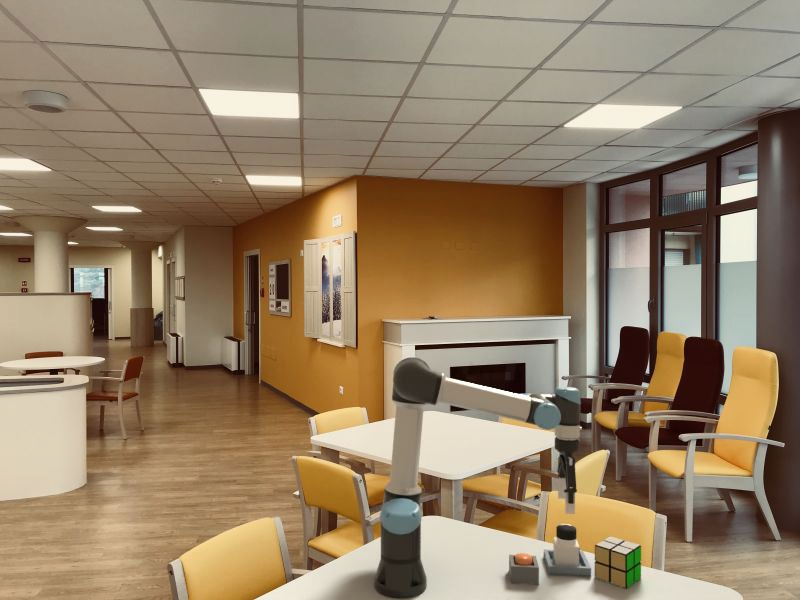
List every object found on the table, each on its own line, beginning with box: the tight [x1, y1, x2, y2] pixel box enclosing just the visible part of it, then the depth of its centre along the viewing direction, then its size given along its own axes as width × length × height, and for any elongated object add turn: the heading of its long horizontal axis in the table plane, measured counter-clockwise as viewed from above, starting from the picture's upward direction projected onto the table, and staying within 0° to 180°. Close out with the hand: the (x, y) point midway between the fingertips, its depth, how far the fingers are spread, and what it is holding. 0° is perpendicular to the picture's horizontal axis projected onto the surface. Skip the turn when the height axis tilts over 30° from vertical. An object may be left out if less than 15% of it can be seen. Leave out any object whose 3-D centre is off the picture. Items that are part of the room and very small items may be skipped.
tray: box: [543, 549, 592, 578], centre depth 190 cm, size 12×12×2 cm
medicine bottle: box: [552, 523, 581, 566], centre depth 190 cm, size 7×7×12 cm
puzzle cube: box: [594, 536, 642, 589], centre depth 182 cm, size 10×10×10 cm
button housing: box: [508, 554, 540, 586], centre depth 182 cm, size 8×8×5 cm
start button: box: [514, 553, 533, 566], centre depth 182 cm, size 5×5×2 cm
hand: (566, 505), depth 190 cm, fingers open, 13 cm apart
